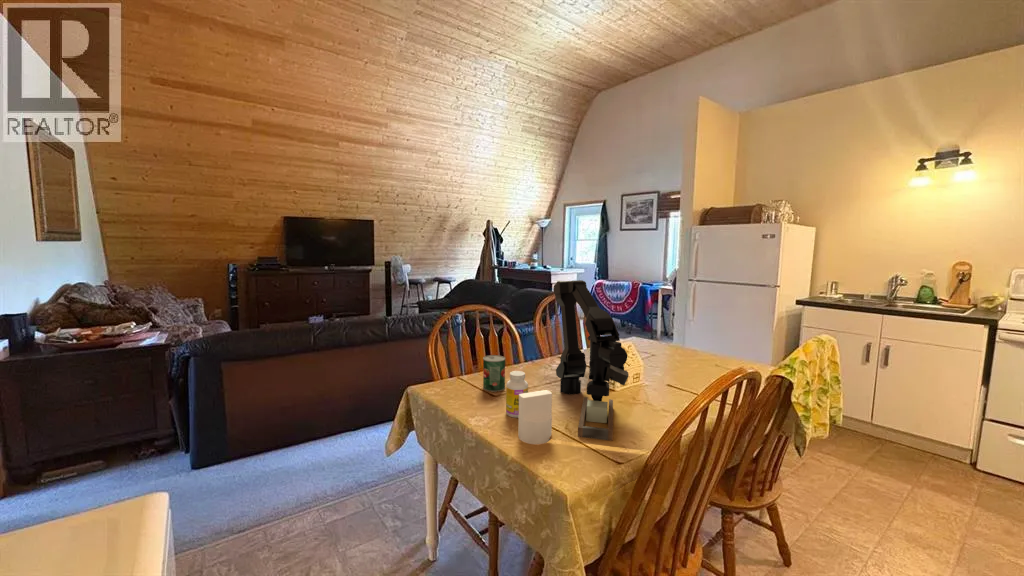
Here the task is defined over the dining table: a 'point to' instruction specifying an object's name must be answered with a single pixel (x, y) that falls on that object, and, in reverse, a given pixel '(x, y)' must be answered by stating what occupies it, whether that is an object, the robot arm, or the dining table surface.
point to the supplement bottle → (515, 392)
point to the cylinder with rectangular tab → (535, 417)
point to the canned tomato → (494, 373)
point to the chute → (594, 431)
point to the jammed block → (597, 411)
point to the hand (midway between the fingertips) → (597, 407)
